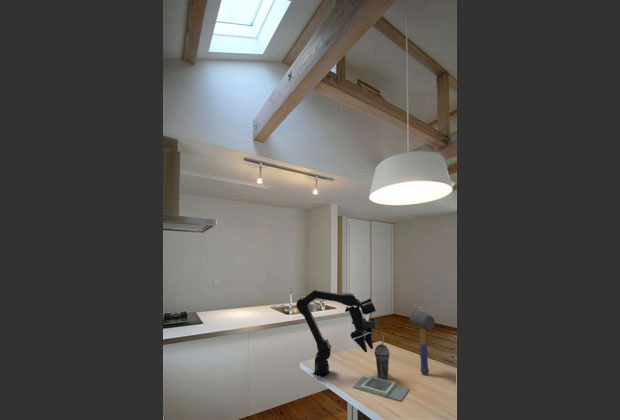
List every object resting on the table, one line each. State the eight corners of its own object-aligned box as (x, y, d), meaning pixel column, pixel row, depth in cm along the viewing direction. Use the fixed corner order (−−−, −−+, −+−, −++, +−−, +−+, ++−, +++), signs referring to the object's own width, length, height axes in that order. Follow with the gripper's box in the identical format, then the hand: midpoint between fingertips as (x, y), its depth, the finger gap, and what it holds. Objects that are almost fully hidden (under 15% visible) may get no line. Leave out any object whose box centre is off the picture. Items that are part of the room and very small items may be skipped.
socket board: (352, 387, 131) (352, 383, 131) (363, 377, 141) (363, 374, 141) (401, 402, 119) (400, 397, 119) (409, 390, 129) (408, 385, 129)
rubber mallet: (439, 378, 140) (435, 314, 144) (426, 380, 138) (423, 315, 142) (423, 368, 152) (420, 309, 156) (410, 370, 150) (408, 310, 154)
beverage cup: (372, 376, 143) (371, 334, 145) (384, 374, 145) (383, 332, 148) (380, 382, 136) (379, 338, 138) (393, 380, 138) (391, 336, 141)
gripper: (365, 313, 136) (378, 348, 130) (376, 311, 152) (389, 342, 145) (345, 321, 140) (357, 355, 133) (358, 318, 156) (369, 349, 149)
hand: (369, 350), depth 140 cm, fingers open, 9 cm apart
